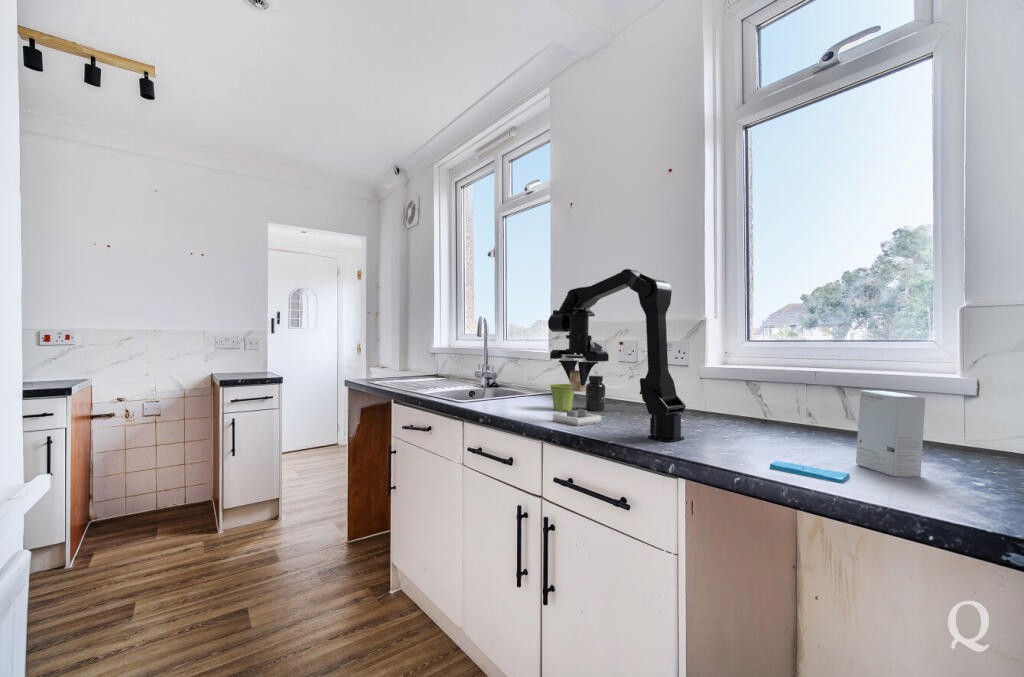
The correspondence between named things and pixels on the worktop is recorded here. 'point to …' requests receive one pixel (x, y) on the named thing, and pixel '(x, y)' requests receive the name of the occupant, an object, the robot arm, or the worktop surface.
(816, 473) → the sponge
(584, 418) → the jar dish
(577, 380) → the wooden block
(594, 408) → the supplement bottle
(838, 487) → the worktop surface
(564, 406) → the plant pot
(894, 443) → the skincare box
